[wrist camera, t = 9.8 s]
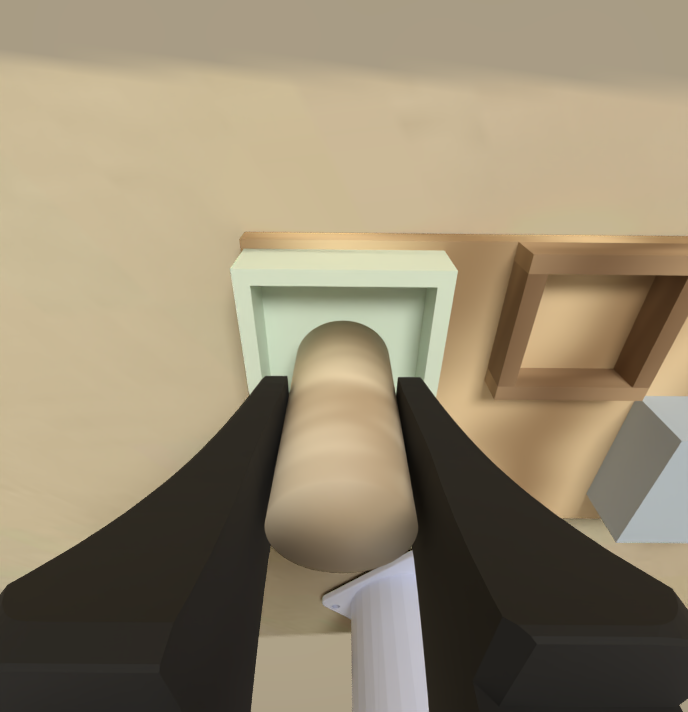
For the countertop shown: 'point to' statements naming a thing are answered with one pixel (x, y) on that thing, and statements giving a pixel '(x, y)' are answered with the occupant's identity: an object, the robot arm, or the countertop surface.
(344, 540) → the beech dowel
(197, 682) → the robot arm
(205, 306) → the countertop surface
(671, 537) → the slate block
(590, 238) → the bench board
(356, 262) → the sage tray
